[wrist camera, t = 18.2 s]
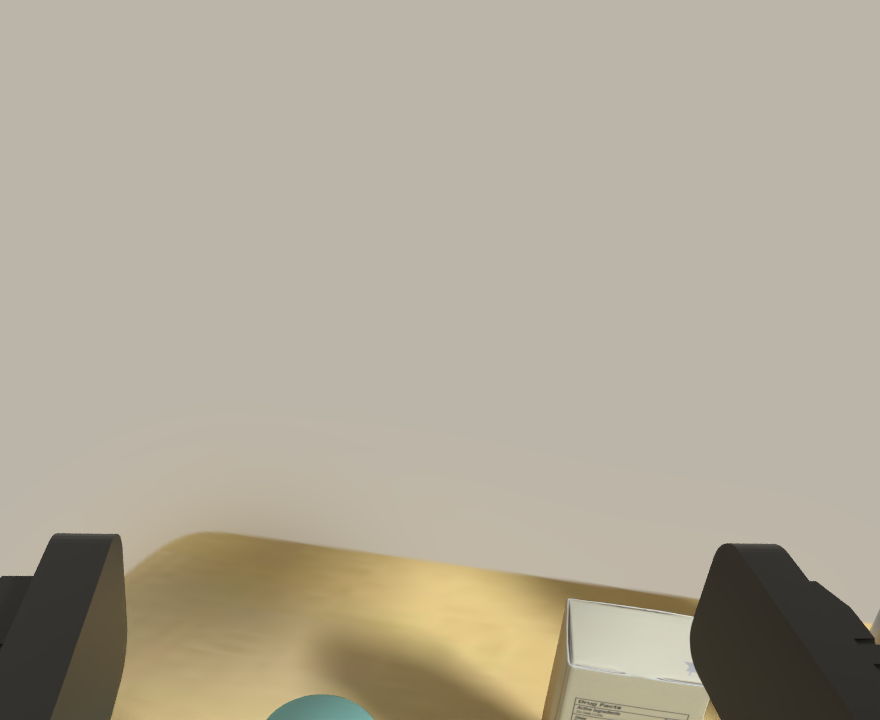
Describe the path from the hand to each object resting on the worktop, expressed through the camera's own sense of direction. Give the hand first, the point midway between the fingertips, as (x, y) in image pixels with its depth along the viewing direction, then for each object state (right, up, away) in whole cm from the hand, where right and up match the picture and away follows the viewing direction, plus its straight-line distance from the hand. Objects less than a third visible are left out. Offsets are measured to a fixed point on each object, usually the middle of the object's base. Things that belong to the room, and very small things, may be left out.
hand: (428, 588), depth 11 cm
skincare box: (+7, -20, +30) cm, 37 cm away
